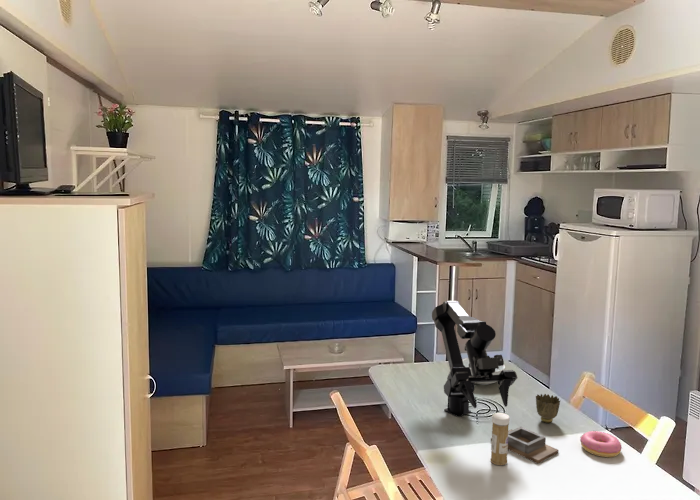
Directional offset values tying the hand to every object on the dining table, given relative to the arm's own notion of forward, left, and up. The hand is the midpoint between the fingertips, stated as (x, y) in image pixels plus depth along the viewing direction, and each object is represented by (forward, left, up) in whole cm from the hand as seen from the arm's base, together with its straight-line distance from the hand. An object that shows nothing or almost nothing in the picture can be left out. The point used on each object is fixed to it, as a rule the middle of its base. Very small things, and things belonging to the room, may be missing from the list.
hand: (490, 406), depth 153 cm
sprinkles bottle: (+6, -3, -13) cm, 15 cm away
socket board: (+5, +10, -13) cm, 17 cm away
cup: (-1, +31, -13) cm, 33 cm away
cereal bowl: (-37, +43, -13) cm, 58 cm away
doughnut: (+19, +27, -13) cm, 35 cm away
